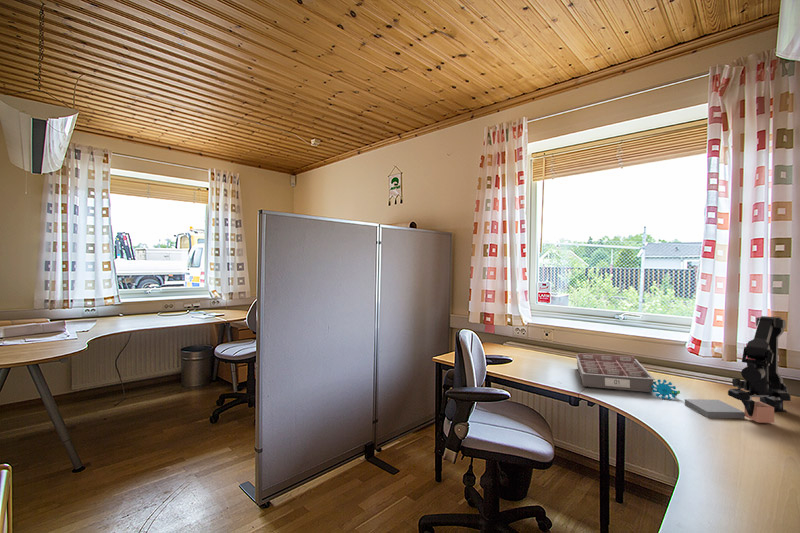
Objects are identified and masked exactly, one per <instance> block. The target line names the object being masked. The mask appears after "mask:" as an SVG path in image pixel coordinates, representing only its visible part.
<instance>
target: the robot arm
mask: <svg viewBox="0 0 800 533" xmlns="http://www.w3.org/2000/svg"><path fill="white" fill-rule="evenodd" d="M786 322H787V321H786V320H785V319H782V317H779V316H767V315H766V316H764V315H761V316H758V317H756V318H755V326H756V328H755V332H754V336H753V339H751V340H749V341H747V343H746V346H744V347H743V350H742V358H741V363H744V364H745V363H746V366H745V367H743V369H742V370H741V372H740V374H741V377H742V378H743V379H744V380H741V378H732V380H731V383H732V386H733V387H736V388H729V389H728V391H727V395H728V396H729V397H731V398H733V399H736V400H738V401H741V403H742V404H743V406H744V409H745V408H746V410H747V413H748V415H749V416H752V415H753V410H754V404H755V402H756V401H755V400H754V399H752V398H759V402H763V403H765V404H767V405H770V406H772V407H774V412H787V409H785V408H784V402H791V400H792V399H791V398H792V396H791V394H790V393H789V392H788V387H787V386H786V384H785V382H784V379H783V377H782V376H781V374H780V373H779V370H778V369H779V338H780V337H781V335H783V333H784V329H786V326H787V323H786Z"/></svg>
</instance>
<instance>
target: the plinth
mask: <svg viewBox="0 0 800 533" xmlns="http://www.w3.org/2000/svg"><path fill="white" fill-rule="evenodd" d="M684 405H685V406H686V407H687V408H690V409H691V410H693V411H695V412H697V413H698V414H699V415H702V416H703V417H705V418H706V419H745V417H746V416H745V411H743V410H740V409H739V408H737V407H735V406H733V405H730V404H728V403H726V402H724V401H722V400H720V399H701V398H700V399H694V398H693V399H692V398H691V399H690V398H688V399H687V398H685V399H684Z"/></svg>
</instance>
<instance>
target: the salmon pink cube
mask: <svg viewBox="0 0 800 533" xmlns="http://www.w3.org/2000/svg"><path fill="white" fill-rule="evenodd" d="M744 412H745V417H746V418H748V419H749V420H752V421H753V422H756V423H764V424H765V423H767V424H769V423H772V424H774V423H775V411H774V407H772V406H770V405H767V404H765V403H763V402H760V401H755V404H754V410H753V415H752V416H749V415H748V413H747V410H746V408H745V407H744Z"/></svg>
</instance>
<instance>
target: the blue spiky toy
mask: <svg viewBox="0 0 800 533" xmlns="http://www.w3.org/2000/svg"><path fill="white" fill-rule="evenodd" d="M667 382H668V381H667V380H666V379H663V380H661V379H657V381H655V380H653V385H652V386H651V388H653V390H652V392H651V393H655V396H656V397H660V396H661V399H662V400H665V399H667V400H671V399H672V398H676V397H677V396H678V395H680V394H681V391H680V390H676V389H677V387H676V385H673V383H672V382H671V381H669V382H668V383H667ZM657 383H658V384H657ZM672 385H673V386H672ZM670 395H671V396H670ZM666 396H667V397H666Z"/></svg>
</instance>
